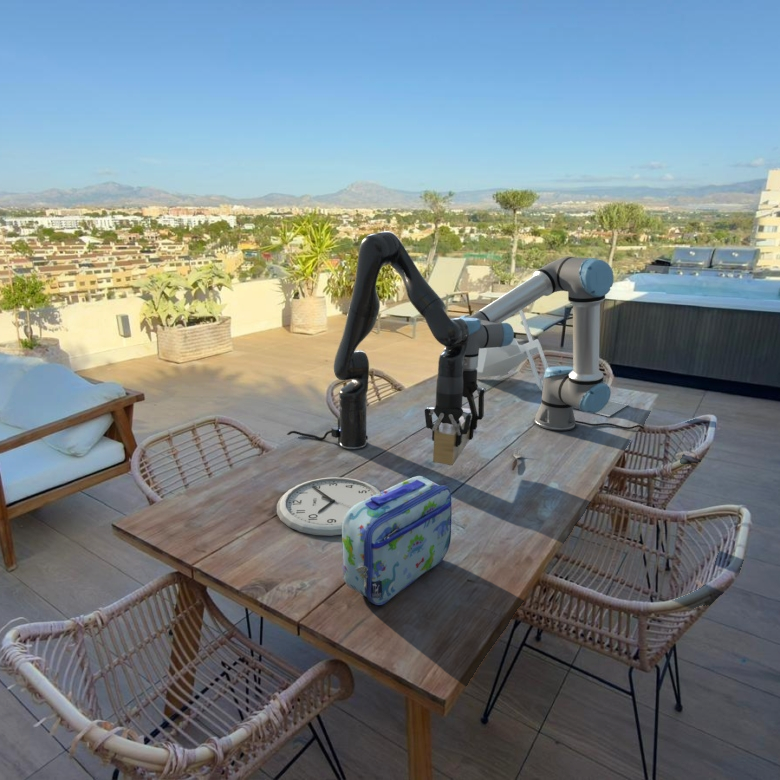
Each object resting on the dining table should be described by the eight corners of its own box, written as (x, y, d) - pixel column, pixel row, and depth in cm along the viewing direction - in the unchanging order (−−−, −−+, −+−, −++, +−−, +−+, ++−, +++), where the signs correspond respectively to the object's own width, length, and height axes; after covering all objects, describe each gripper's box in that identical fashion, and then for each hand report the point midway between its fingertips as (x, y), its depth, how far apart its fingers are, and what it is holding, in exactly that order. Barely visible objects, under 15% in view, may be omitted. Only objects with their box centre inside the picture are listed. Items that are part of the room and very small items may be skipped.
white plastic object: (488, 420, 264) (468, 397, 239) (469, 347, 286) (449, 319, 261) (560, 396, 252) (546, 369, 227) (534, 322, 274) (519, 290, 249)
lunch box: (371, 618, 102) (371, 524, 95) (336, 591, 109) (334, 502, 103) (455, 562, 119) (460, 479, 113) (420, 542, 126) (423, 463, 120)
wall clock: (392, 527, 129) (268, 531, 127) (391, 533, 130) (269, 537, 127) (383, 473, 158) (282, 475, 155) (383, 478, 158) (282, 480, 156)
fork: (508, 471, 164) (508, 465, 164) (514, 451, 179) (515, 446, 178) (516, 472, 164) (517, 466, 163) (522, 452, 178) (523, 447, 177)
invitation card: (608, 416, 214) (573, 407, 224) (608, 416, 214) (573, 408, 224) (628, 404, 229) (594, 396, 238) (628, 405, 229) (594, 397, 238)
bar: (454, 433, 174) (456, 406, 172) (472, 436, 172) (474, 409, 170) (432, 462, 153) (434, 432, 150) (452, 465, 151) (454, 435, 148)
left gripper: (421, 389, 147) (419, 444, 152) (471, 396, 142) (467, 453, 147) (429, 382, 154) (427, 435, 159) (477, 388, 149) (473, 443, 154)
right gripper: (432, 367, 163) (429, 436, 170) (493, 374, 157) (487, 445, 164) (439, 362, 170) (436, 428, 177) (497, 368, 163) (492, 437, 170)
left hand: (446, 443), depth 153 cm, fingers closed on bar, 6 cm apart
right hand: (461, 436), depth 170 cm, fingers closed on bar, 6 cm apart
